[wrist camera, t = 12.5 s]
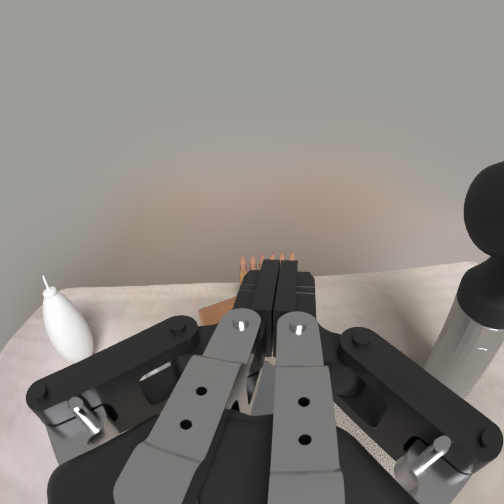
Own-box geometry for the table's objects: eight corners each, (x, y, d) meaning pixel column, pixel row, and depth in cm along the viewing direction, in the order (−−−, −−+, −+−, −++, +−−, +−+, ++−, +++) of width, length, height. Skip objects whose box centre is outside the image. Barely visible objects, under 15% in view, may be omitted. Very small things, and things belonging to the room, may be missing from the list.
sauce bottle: (108, 359, 42) (70, 271, 34) (76, 381, 36) (27, 295, 28) (90, 339, 46) (56, 258, 38) (60, 358, 40) (19, 278, 32)
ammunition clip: (241, 312, 54) (237, 258, 48) (241, 307, 55) (237, 253, 50) (295, 308, 54) (298, 254, 49) (293, 302, 56) (296, 249, 51)
